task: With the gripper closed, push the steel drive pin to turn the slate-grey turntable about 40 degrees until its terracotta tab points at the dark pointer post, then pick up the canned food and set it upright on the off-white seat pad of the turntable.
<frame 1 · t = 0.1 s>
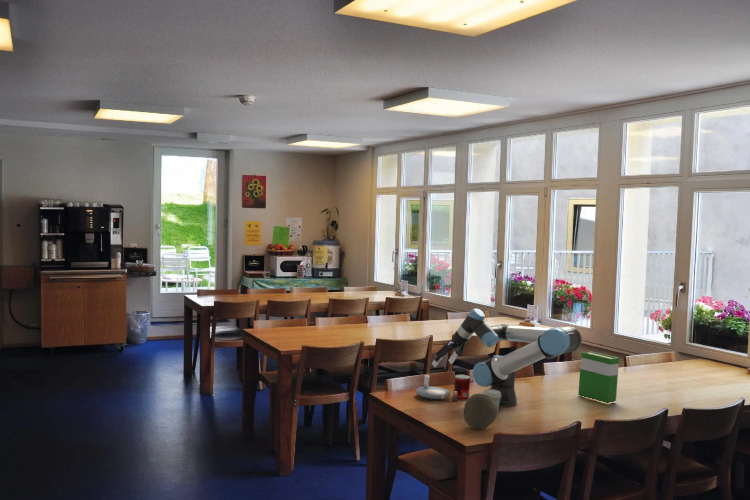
hand: (441, 363, 334), 15 cm above the table, tool tilted 35°, fingers open, 13 cm apart
coffee cup: (490, 417, 298), on the table
hardback book: (596, 400, 341), on the table
cantaloupe: (478, 429, 280), on the table
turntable: (433, 386, 324), point 6 cm above the table, hinge at 0.0°
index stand: (432, 397, 325), on the table
canned food: (461, 398, 329), on the table
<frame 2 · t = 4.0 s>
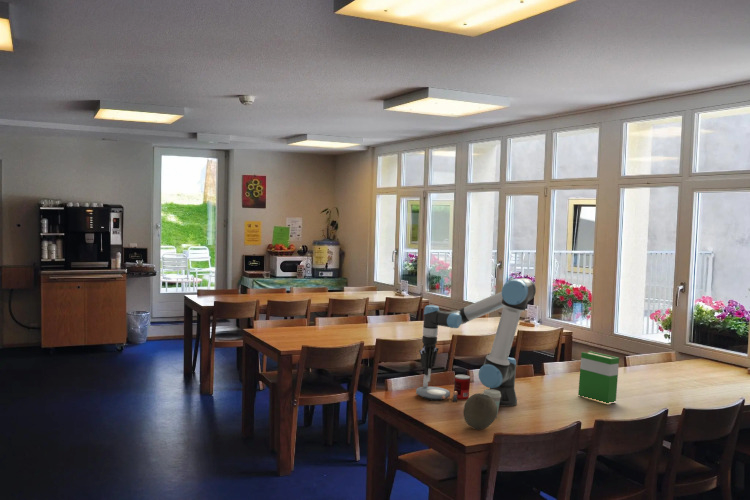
hand: (427, 380, 332), 7 cm above the table, tool pointing down, fingers closed
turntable: (434, 386, 324), point 6 cm above the table, hinge at 4.4°, touching gripper
everything else where it was.
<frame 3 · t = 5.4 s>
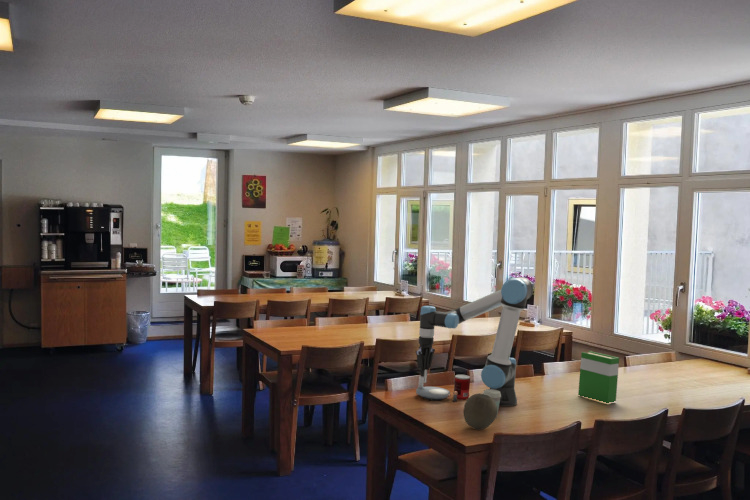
hand: (423, 382, 330), 6 cm above the table, tool pointing down, fingers closed
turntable: (434, 386, 325), point 6 cm above the table, hinge at 33.7°
everything else where it was.
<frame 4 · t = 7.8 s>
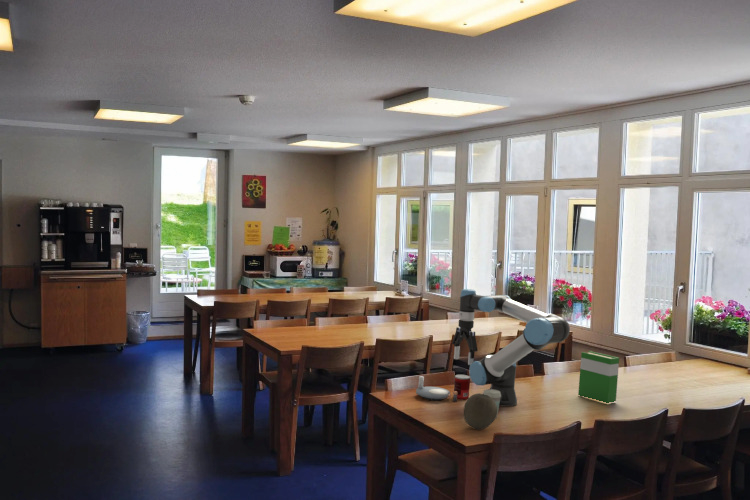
hand: (463, 361, 328), 18 cm above the table, tool pointing down, fingers open, 12 cm apart
nothing on the table moved.
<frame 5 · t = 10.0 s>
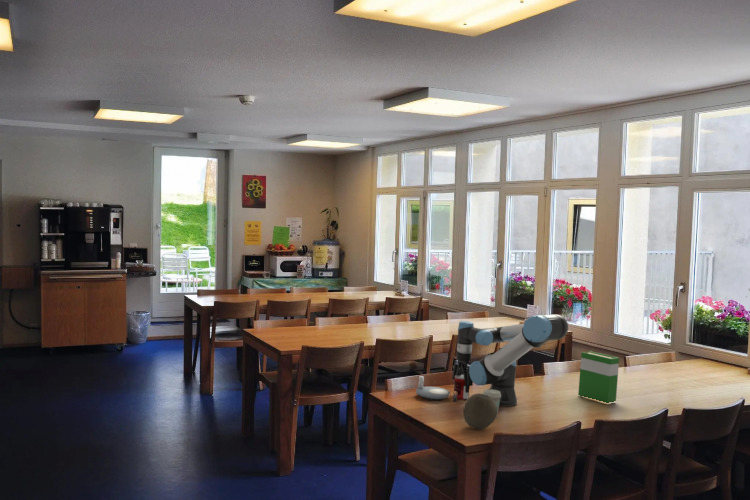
hand: (461, 396, 329), 1 cm above the table, tool pointing down, fingers closed on canned food, 8 cm apart
canned food: (461, 398, 329), on the table, touching gripper
everything else where it was.
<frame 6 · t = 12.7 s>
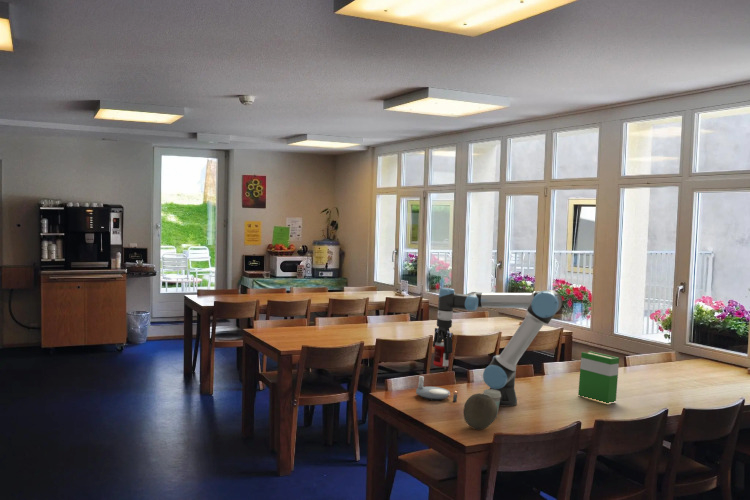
hand: (441, 364, 323), 18 cm above the table, tool pointing down, fingers closed on canned food, 8 cm apart
canned food: (440, 365, 324), point 17 cm above the table, touching gripper
everything else where it was.
when the fingers open (6 cm above the table, at t = 15.2 s): canned food drops 2 cm, resting on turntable.
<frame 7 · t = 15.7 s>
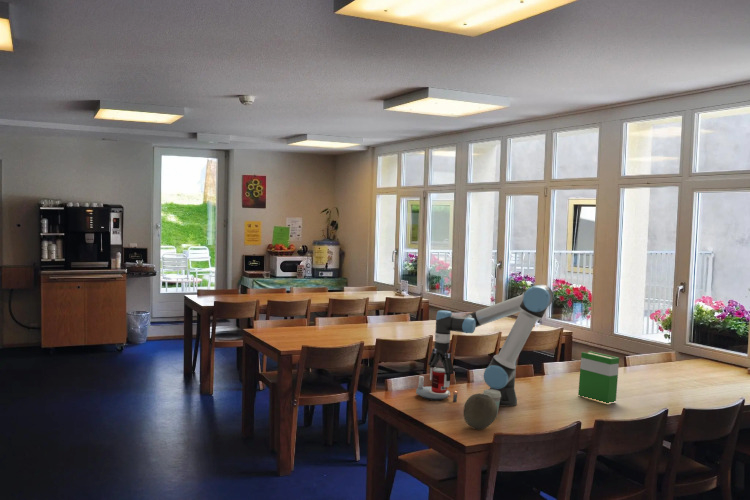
hand: (439, 383, 323), 8 cm above the table, tool pointing down, fingers open, 13 cm apart
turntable: (434, 386, 325), point 6 cm above the table, hinge at 33.6°, touching canned food
canned food: (438, 391, 324), point 4 cm above the table, touching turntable
everything else where it was.
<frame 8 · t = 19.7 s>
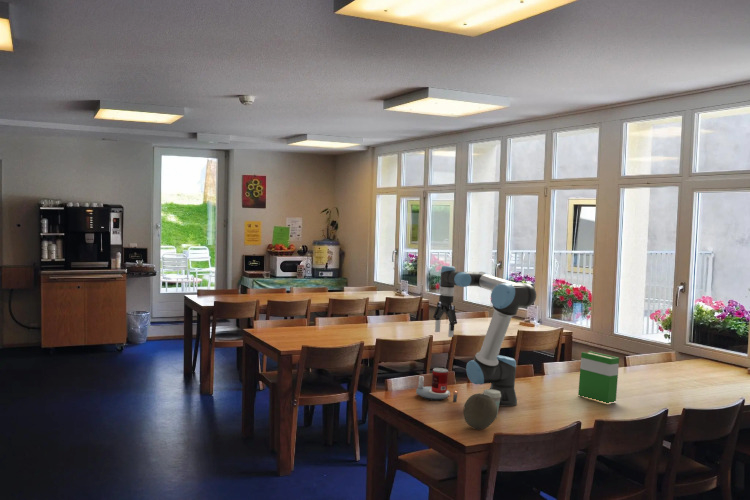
hand: (443, 334, 346), 29 cm above the table, tool pointing down, fingers open, 13 cm apart
nothing on the table moved.
at the end: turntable at +34° (first picture: +0°); canned food 0.5 cm from the target spot on the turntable, point 3.6 cm above the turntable's base; canned food tilted 0° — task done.
